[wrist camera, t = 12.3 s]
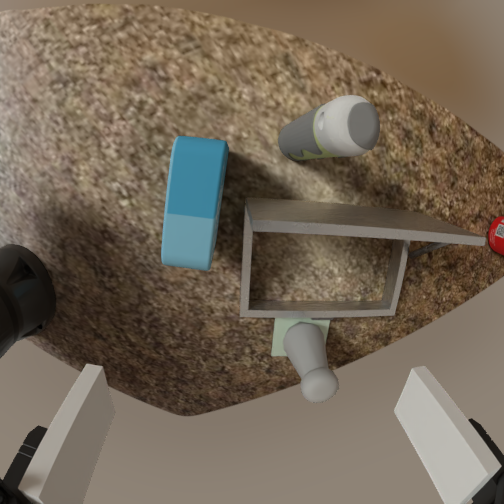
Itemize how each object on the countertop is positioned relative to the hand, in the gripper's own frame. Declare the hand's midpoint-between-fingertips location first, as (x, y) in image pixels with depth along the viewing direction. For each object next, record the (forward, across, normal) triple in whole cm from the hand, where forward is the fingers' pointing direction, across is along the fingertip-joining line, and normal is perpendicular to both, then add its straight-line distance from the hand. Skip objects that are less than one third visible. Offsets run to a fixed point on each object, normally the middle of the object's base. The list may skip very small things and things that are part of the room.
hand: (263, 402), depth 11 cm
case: (+29, +11, -3) cm, 31 cm away
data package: (+29, -5, +5) cm, 30 cm away
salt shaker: (+28, +9, -14) cm, 33 cm away
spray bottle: (+29, +6, +12) cm, 32 cm away
